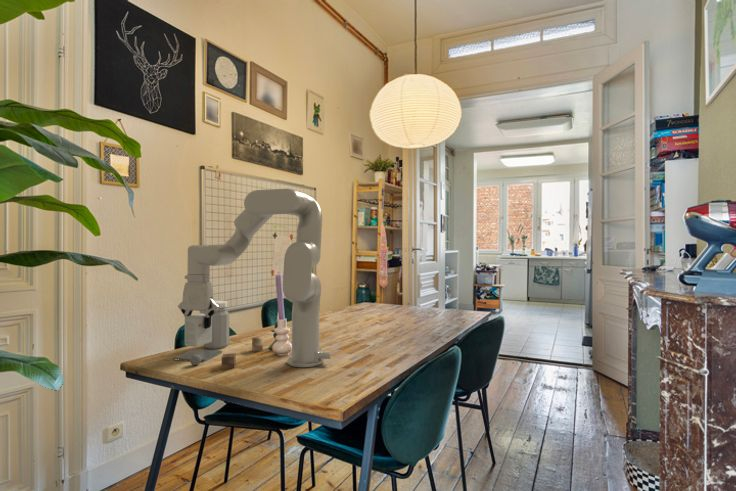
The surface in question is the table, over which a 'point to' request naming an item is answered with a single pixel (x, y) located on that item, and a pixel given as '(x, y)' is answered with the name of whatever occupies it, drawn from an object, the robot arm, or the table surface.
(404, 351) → the table surface
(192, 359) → the grey rubber ball
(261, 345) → the cork cylinder
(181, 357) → the slate trivet
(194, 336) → the small box
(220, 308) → the jar
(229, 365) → the walnut block
